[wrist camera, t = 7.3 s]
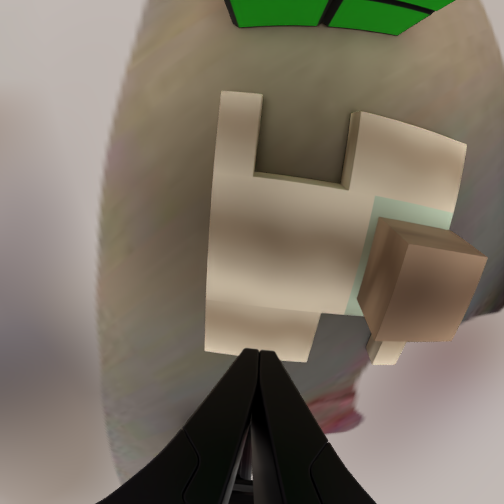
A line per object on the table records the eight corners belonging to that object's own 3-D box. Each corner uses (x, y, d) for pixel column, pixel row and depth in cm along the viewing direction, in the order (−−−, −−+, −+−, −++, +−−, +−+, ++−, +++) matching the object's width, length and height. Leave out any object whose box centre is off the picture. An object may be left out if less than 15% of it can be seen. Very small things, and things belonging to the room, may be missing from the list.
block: (425, 304, 17) (451, 341, 13) (356, 299, 17) (374, 341, 13) (450, 230, 15) (487, 257, 11) (378, 216, 15) (408, 243, 11)
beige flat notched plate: (387, 347, 21) (395, 364, 19) (209, 333, 21) (204, 350, 19) (449, 142, 15) (467, 145, 13) (227, 95, 15) (221, 90, 13)
